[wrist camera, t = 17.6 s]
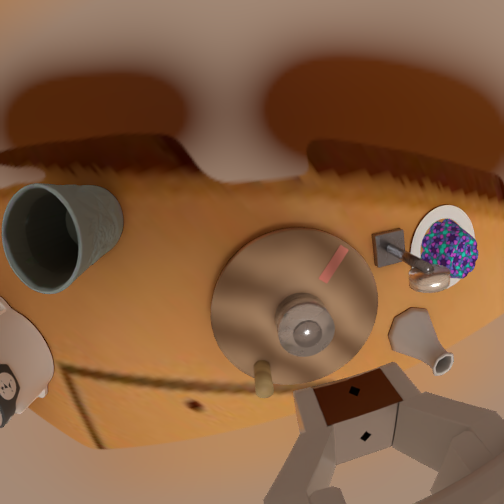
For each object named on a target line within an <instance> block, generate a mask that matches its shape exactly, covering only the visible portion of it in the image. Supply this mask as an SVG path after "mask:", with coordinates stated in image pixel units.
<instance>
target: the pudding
mask: <svg viewBox="0 0 504 504" xmlns="http://www.w3.org/2000/svg"><path fill="white" fill-rule="evenodd" d="M443 218H449V219H445V220H444V221H443V222H442V223H441V222H438V221H437V220H440V219H443ZM450 219H452V220H454V221H456V222H457V223H458V224H459V225H460V226H459V225H457V224H456V223H455V222H454V221H452V220H450ZM436 221H437V222H436ZM434 222H435V223H434ZM431 225H432V226H431ZM430 226H431V227H430ZM429 227H430V231H429V233H428V234H426V235H425V233H426V231H427V230H428V228H429ZM424 235H425V236H424ZM423 237H424V238H423ZM421 243H422V248H423V252H422V255H421V257H420V249H421ZM411 254H413V255H415V256H417V257H419V258H421V259H422V260H424V261H426V262H428V263H430V264H437V265H442V266H445V267H447V268H448V269H449V270H450V285H449V287H451V286H453V285H454V284H455V283H457V282H458V281H459V280H460V279H461V278H464V277H466V276H467V274H468V272H471V271H472V270H473V269H474V267H475V261H476V260H477V258H478V250H477V243H476V240H475V235H474V229H473V226H472V223H471V221H470V219H469V217H468V216H467V215H466V213H465V212H464V211H463V210H461V209H460V208H458V207H455V206H452V205H444V206H440V207H437V208H435V209H434V210H432V211H431V212H429V213H428V214H427V215H426V216H425V217H424V219H423V220H422V221H421V222H420V224H419V226H418V228H417V230H416V232H415V235H414V237H413V241H412V246H411ZM412 268H413V267H412ZM449 287H448V288H449ZM446 289H447V288H446Z"/></svg>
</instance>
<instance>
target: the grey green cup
mask: <svg viewBox="0 0 504 504" xmlns="http://www.w3.org/2000/svg"><path fill="white" fill-rule="evenodd" d="M122 230H123V214H122V210H121V207H120V204H119V203H118V201H117V199H116V198H115V197H114V196H113V195H112V194H111V193H110V192H109V191H108V190H106V189H104V188H102V187H99V186H94V185H82V186H78V185H53V184H39V183H35V184H30V185H27V186H25V187H23V188H22V189H20V190H19V191H18V192H17V193H16V194H15V195H14V196H13V197H12V199H11V200H10V201H9V203H8V205H7V207H6V210H5V213H4V217H3V222H2V242H3V247H4V251H5V255H6V257H7V260H8V262H9V264H10V266H11V268H12V270H13V271H14V273H15V274H16V275H17V276H18V277H19V279H20V280H21V281H22V282H23V283H24V284H25V285H27V286H28V287H29V288H31V289H33V290H35V291H37V292H40V293H44V294H54V293H58V292H61V291H63V290H64V289H66V288H67V287H68V286H69V285H70V284H71V283H72V282H73V281H75V280H76V279H77V278H78V277H79V276H80V275H81V274H82V273H83V272H84V271H85V270H86V269H87V268H88V267H89V266H90V265H93V264H94V263H95V262H96V261H97V260H98V259H99V258H100V257H102V256H103V255H104V254H105V253H107V252H108V251H110V250H111V249H112V248H113V247H114V246H115V245H116V243H117V242H118V240H119V238H120V236H121V233H122Z"/></svg>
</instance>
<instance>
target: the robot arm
mask: <svg viewBox="0 0 504 504" xmlns="http://www.w3.org/2000/svg"><path fill="white" fill-rule="evenodd" d="M53 372H54V365H53V359H52V356H51V353H50V350H49V348H48V346H47V344H46V342H45V340H44V339H43V337H42V336H41V334H40V333H39V331H38V330H37V329H36V328H35V327H34V326H33V324H32V323H31V322H30V321H28V320H27V319H26V318H25V317H24V316H22V315H21V314H19V313H17V312H16V311H14V310H13V309H12V308H11V307H10V306H9V305H8V304H7V303H6V301H5V300H4V299H3V298H2V297H0V428H2V427H4V425H5V424H7V423H8V422H9V421H10V420H11V418H12V416H13V415H14V413H18V414H21V413H22V412H23V411H24V410H25V409H26V408H27V407H28V406H29V405H30V404H31V403H32V402H33V401H34V400H35V399H36V398H37V397H40V398H44V397H45V396H46V395H47V393H48V386H47V385H48V383H49V381H50V380H51V378H52V376H53ZM293 397H294V403H295V409H296V415H297V421H298V425H299V430H300V435H299V437H298V439H297V441H296V443H295V444H294V446H293V448H292V450H291V452H290V454H289V456H288V458H287V460H286V461H285V463H284V465H283V467H282V469H281V471H280V472H279V474H278V476H277V478H276V479H275V481H274V483H273V485H272V486H271V488H270V490H269V492H268V493H267V495H266V496H265V498H264V504H346V503H345V500H344V497H343V495H342V492H341V489H340V488H337V487H333V486H331V487H329V484H330V481H331V479H332V476H333V473H334V470H335V465H338V464H340V463H344V462H347V461H350V460H353V459H355V458H358V457H361V456H364V455H367V454H370V453H373V452H376V451H379V450H382V449H385V448H388V447H391V446H393V448H395V449H397V450H398V451H400V452H402V453H404V454H406V455H408V456H409V457H411V458H413V459H415V460H417V461H418V462H420V463H422V464H424V465H426V466H428V467H430V468H432V469H434V470H436V471H438V472H439V473H438V475H437V477H436V479H435V481H434V484H433V486H432V488H431V490H430V491H431V493H432V495H430V496H428V497H426V498H424V499H422V500H420V501H418V502H416V503H414V504H504V420H503V419H502V418H501V417H500V415H499V414H498V413H497V412H496V411H492V410H489V409H485V408H481V407H477V406H473V405H469V404H466V403H463V402H459V401H455V400H452V399H449V398H445V397H442V396H438V395H435V394H432V393H429V392H424V393H421V392H420V391H419V390H418V389H417V387H416V386H415V385H414V384H413V383H412V381H411V380H410V379H409V378H408V377H407V376H406V374H405V373H404V372H403V371H402V369H401V368H400V367H399V366H398V365H397V364H396V363H395V362H391V363H389V364H386V365H383V366H380V367H378V368H376V369H373V370H370V371H367V372H364V373H360V374H357V375H354V376H351V377H348V378H344V379H341V380H337V381H333V382H329V383H325V384H321V385H317V386H313V387H310V388H305V389H301V390H296V391H293Z"/></svg>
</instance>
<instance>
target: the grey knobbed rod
mask: <svg viewBox="0 0 504 504" xmlns="http://www.w3.org/2000/svg"><path fill="white" fill-rule="evenodd" d="M372 240H373V249H374V260H375V266H377V267H382V266H386V265H390V264H394V263H398V262H402V261H403V262H405V263H407V264H408V265H410V266H412V267H413V268H412V269H411V270H410V271H409V286H410V288H411V289H413V290H415V291H418V292H423V293H434V292H439V291H442V290H444V289H446V288H448V287H449V285H450V270H449V269H448V268H447V267H445V266H442V265H437V264H430V263H428V262H426V261H424V260H422V259H421V258H419V257H417V256H415V255H413V254H411V253H409V252H407V251H405V245H404V233H403V230H402V229H400V228H399V229H395V230H390V231H385V232H381V233H376V234H372Z"/></svg>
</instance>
